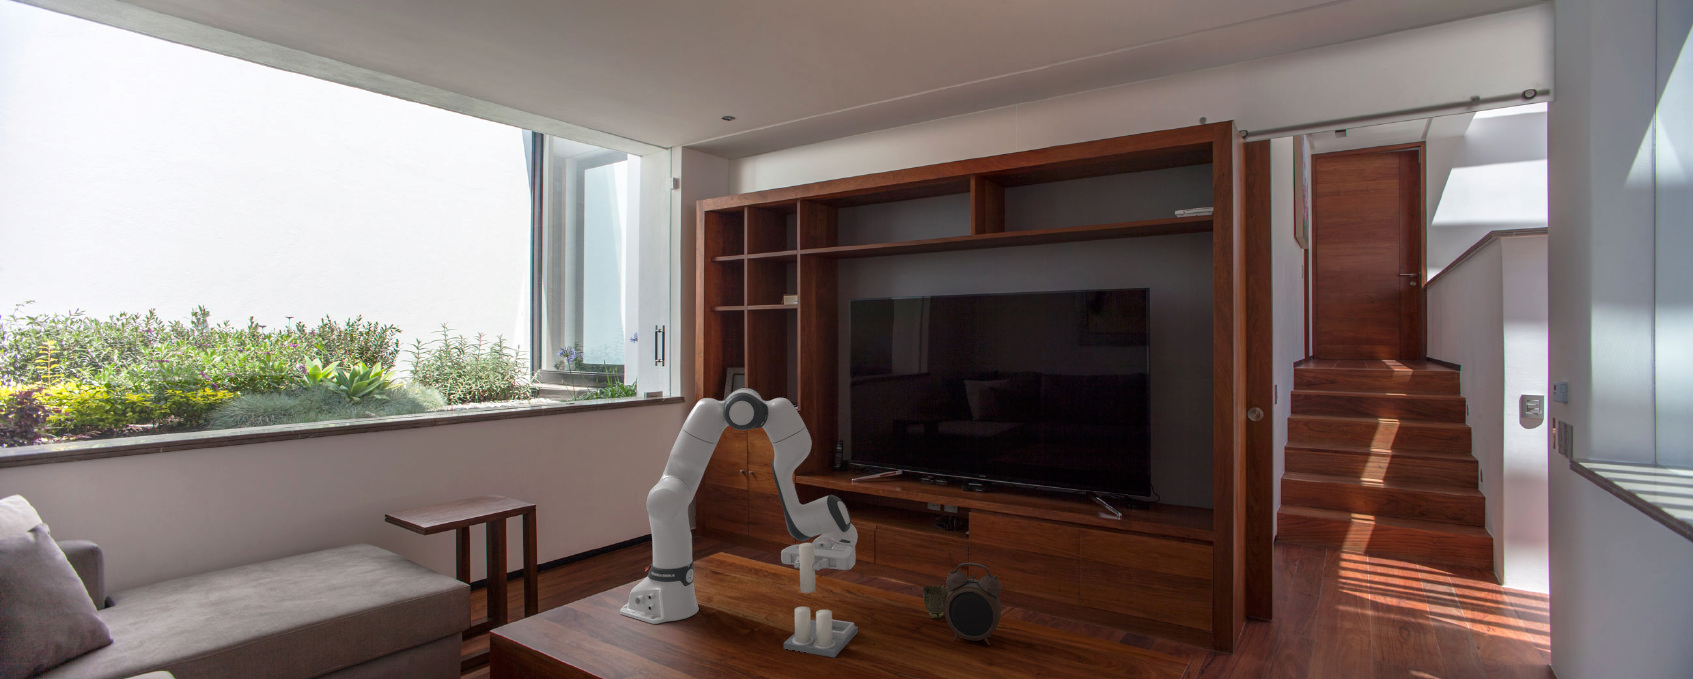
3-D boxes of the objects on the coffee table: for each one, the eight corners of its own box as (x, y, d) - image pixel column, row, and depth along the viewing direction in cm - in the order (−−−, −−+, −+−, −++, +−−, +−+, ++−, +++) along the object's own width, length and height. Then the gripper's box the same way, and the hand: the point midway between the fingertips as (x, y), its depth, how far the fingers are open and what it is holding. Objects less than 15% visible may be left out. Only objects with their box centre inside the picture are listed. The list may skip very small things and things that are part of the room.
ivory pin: (797, 592, 191) (796, 546, 191) (804, 586, 195) (802, 542, 195) (811, 593, 190) (810, 548, 190) (818, 588, 193) (816, 543, 193)
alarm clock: (942, 643, 186) (941, 565, 186) (948, 632, 193) (947, 557, 193) (1000, 650, 182) (999, 571, 181) (1003, 639, 188) (1002, 562, 188)
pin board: (783, 649, 184) (783, 611, 184) (810, 625, 199) (809, 590, 199) (834, 657, 179) (833, 619, 179) (857, 632, 194) (857, 596, 194)
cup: (948, 623, 199) (948, 594, 199) (921, 621, 200) (921, 592, 200) (950, 612, 206) (949, 584, 206) (924, 611, 208) (923, 583, 208)
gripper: (793, 536, 208) (770, 551, 195) (859, 542, 200) (840, 557, 188) (793, 558, 208) (771, 574, 195) (860, 565, 201) (841, 582, 188)
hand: (805, 566), depth 191 cm, fingers closed on ivory pin, 4 cm apart
